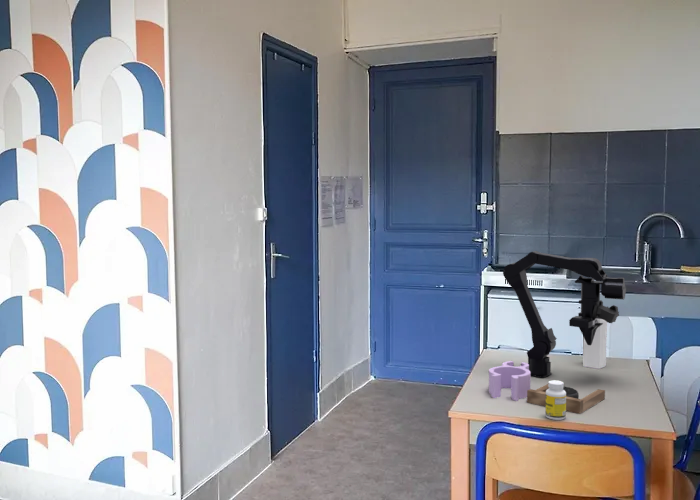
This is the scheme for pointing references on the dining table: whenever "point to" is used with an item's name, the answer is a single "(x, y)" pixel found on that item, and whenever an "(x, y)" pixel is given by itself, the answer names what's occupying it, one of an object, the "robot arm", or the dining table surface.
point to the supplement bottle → (555, 400)
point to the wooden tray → (567, 399)
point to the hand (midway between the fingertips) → (589, 345)
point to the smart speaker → (571, 392)
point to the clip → (510, 380)
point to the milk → (596, 348)
